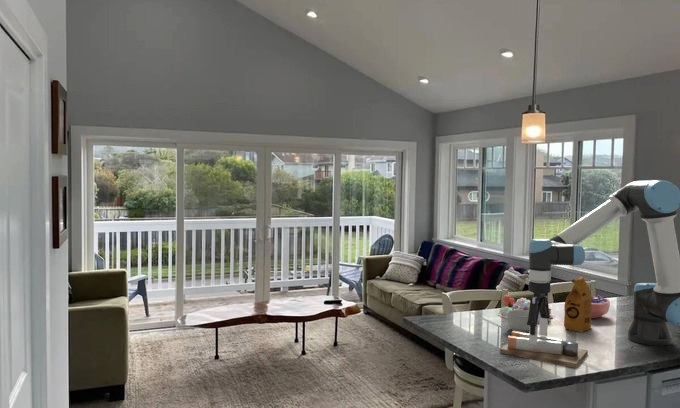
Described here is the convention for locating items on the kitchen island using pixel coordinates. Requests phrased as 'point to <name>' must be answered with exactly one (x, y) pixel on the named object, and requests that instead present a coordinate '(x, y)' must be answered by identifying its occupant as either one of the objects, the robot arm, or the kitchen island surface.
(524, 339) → the tongs arm
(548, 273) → the robot arm
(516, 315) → the teacup
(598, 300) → the cell model
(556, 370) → the kitchen island surface
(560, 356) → the board
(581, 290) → the coffee package
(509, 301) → the candy landscape model
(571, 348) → the tongs fixed
